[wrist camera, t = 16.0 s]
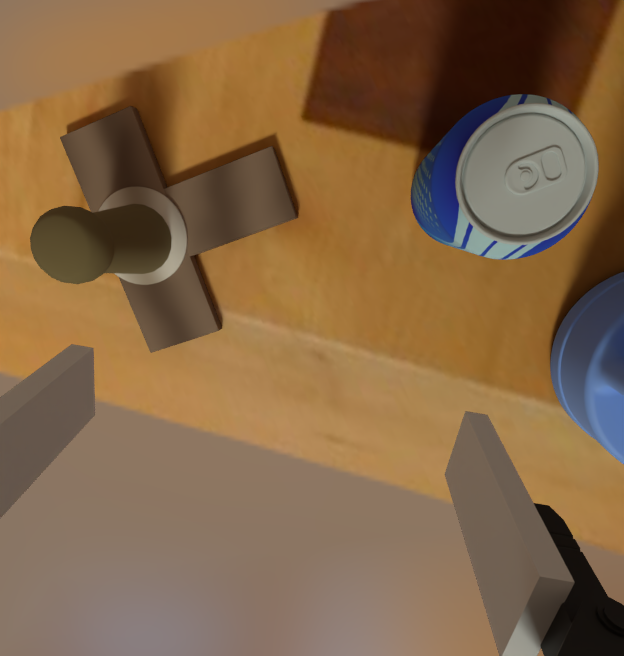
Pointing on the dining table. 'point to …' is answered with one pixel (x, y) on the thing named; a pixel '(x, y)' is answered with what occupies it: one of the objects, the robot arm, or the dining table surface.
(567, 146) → the beer can
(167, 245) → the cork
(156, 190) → the walnut T board
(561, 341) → the water jug
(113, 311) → the dining table surface
